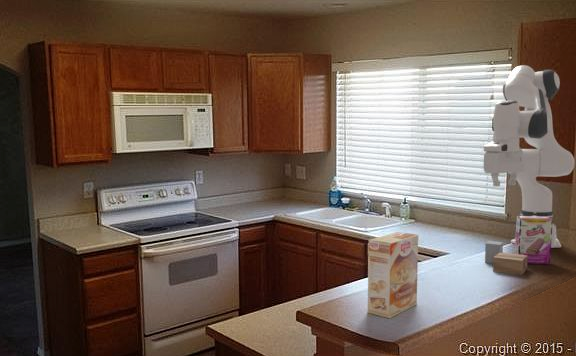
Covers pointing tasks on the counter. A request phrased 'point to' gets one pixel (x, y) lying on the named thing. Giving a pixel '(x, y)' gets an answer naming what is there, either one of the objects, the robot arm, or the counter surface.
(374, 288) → the coffeecake box
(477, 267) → the counter surface
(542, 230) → the candy bar box
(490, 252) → the grey plastic block
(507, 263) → the tan block
